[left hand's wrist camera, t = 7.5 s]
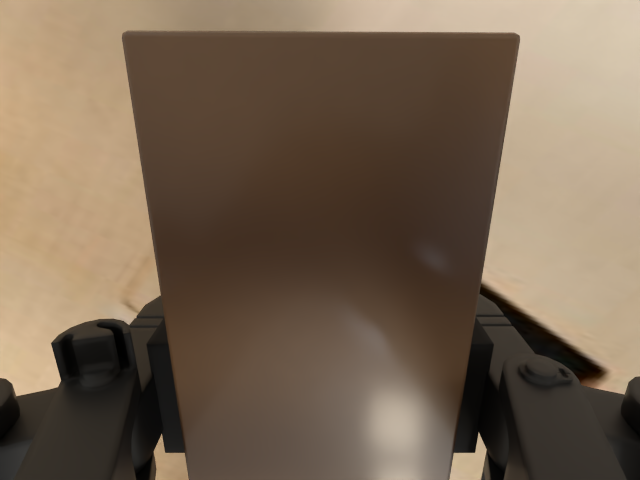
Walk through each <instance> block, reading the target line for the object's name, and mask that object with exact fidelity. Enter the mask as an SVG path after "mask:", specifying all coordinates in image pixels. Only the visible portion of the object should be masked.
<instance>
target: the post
mask: <svg viewBox="0 0 640 480" xmlns="http://www.w3.org/2000/svg"><path fill="white" fill-rule="evenodd" d="M122 41H123V47H124V54H125V60H126V67H127V74H128V80H129V87H130V93H131V100H132V107H133V113H134V120H135V126H136V133H137V140H138V146H139V153H140V160H141V166H142V173H143V179H144V186H145V193H146V199H147V206H148V212H149V219H150V226H151V232H152V239H153V245H154V252H155V259H156V265H157V272H158V278H159V285H160V292H161V298H162V305H163V311H164V318H165V325H166V331H167V338H168V344H169V351H170V358H171V364H172V371H173V378H174V384H175V391H176V397H177V404H178V411H179V417H180V424H181V430H182V437H183V444H184V450H185V457H186V463H187V470H188V477H189V480H449V478H450V472H451V466H452V460H453V453H454V447H455V441H456V435H457V428H458V422H459V416H460V410H461V404H462V397H463V391H464V385H465V379H466V372H467V366H468V360H469V354H470V348H471V341H472V335H473V329H474V323H475V316H476V310H477V304H478V298H479V292H480V285H481V279H482V273H483V267H484V261H485V254H486V248H487V242H488V236H489V229H490V223H491V217H492V211H493V205H494V198H495V192H496V186H497V180H498V173H499V167H500V161H501V155H502V149H503V142H504V136H505V130H506V124H507V117H508V111H509V105H510V99H511V93H512V86H513V80H514V74H515V68H516V61H517V55H518V49H519V43H520V36H519V35H518V34H516V33H472V32H282V31H126V32H124V33H123V35H122Z"/></svg>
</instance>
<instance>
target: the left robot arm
mask: <svg viewBox="0 0 640 480" xmlns="http://www.w3.org/2000/svg"><path fill="white" fill-rule="evenodd" d="M51 344H52V348H53V352H54V355H55V359H56V363H57V366H58V370H59V374H60V377H61V382H60V384H59V387H57V388H54V389H50V390H45V391H40V392H35V393H31V394H26V395H21V396H16V395H15V391H14V388H13V385H12V384H11V383H10V382H9V381H8V380H6V379H2V378H0V480H155V476H156V463H155V457H154V452H153V451H154V449H155V447H156V445H157V443H158V440H159V438H160V436H161V434H162V436H163V442H164V448H165V453H185V450H184V444H183V437H182V430H181V424H180V417H179V411H178V404H177V397H176V391H175V384H174V378H173V371H172V364H171V358H170V351H169V344H168V338H167V331H166V325H165V318H164V311H163V305H162V298H161V296H159V297H157V298H156V299H154V300H153V301H151V302H150V303H148V304H146V305H145V306H144V307H143V309H142V310H141V311H140V313H139V314H138V315H137V318H135V319H134V320H133V321H132V323H131V324H130V325H128V324H127V323H125V322H124V321H121V320H116V319H98V320H94V321H89V322H85V323H82V324H79V325H77V326H74V327H71V328H70V329H68V330H66V331H65V332H63V333H61V334H60V335H58V336H57V337H56V339H55V340H54V341H53V342H52V343H51ZM478 432H479V433H480V435H481V438H482V440H483V442H484V444H485V446H486V449H487V452H486V457H485V462H484V467H483V473H482V478H481V480H640V377H635V378H633V379H632V380H631V381H630V382H629V383H628V386H627V389H626V393H625V395H624V394H619V393H614V392H609V391H604V390H599V389H594V388H590V387H586V386H582V385H581V384H580V382H579V380H578V378H577V377H576V376H575V375H574V373H573V372H572V371H571V370H569V369H568V368H567V367H565V366H564V365H562V364H561V363H559V362H557V361H555V360H552V359H550V358H548V357H544V356H540V355H536V354H535V353H534V352H533V351H532V349H531V348H530V347H529V346H528V344H527V343H526V342H525V341H524V339H523V338H522V337H521V336H520V334H519V333H518V332H517V331H516V329H515V328H514V327H513V326H511V323H510V322H509V321H508V319H507V318H506V317H504V314H503V313H502V312H501V311H500V309H499V308H498V307H497V305H496V304H495V303H493V302H492V301H490V300H488V299H487V298H485V297H484V296H482V295H480V294H479V298H478V304H477V310H476V316H475V323H474V329H473V335H472V341H471V348H470V354H469V360H468V366H467V372H466V379H465V385H464V391H463V397H462V404H461V410H460V416H459V422H458V428H457V435H456V441H455V447H454V453H475V449H476V443H477V438H478Z"/></svg>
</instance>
